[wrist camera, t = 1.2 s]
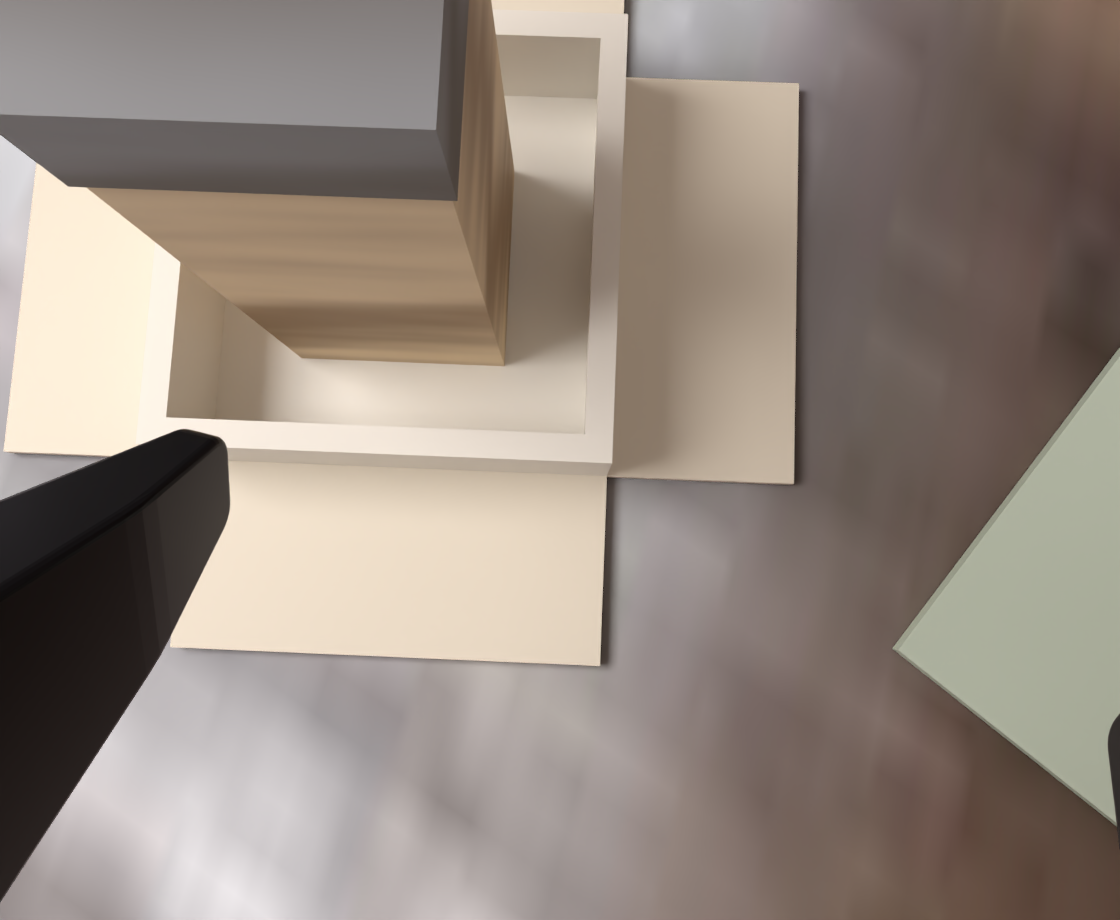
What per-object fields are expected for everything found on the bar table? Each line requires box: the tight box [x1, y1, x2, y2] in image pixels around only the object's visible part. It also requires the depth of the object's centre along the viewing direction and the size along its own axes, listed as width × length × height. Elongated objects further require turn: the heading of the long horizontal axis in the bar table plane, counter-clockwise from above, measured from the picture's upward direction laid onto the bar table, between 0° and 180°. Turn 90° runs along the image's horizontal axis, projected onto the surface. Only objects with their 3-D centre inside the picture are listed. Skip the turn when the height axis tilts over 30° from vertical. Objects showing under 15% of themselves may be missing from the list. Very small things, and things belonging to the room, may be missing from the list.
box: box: [0, 0, 514, 366], centre depth 17 cm, size 5×5×12 cm
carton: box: [4, 0, 799, 666], centre depth 22 cm, size 19×19×3 cm
